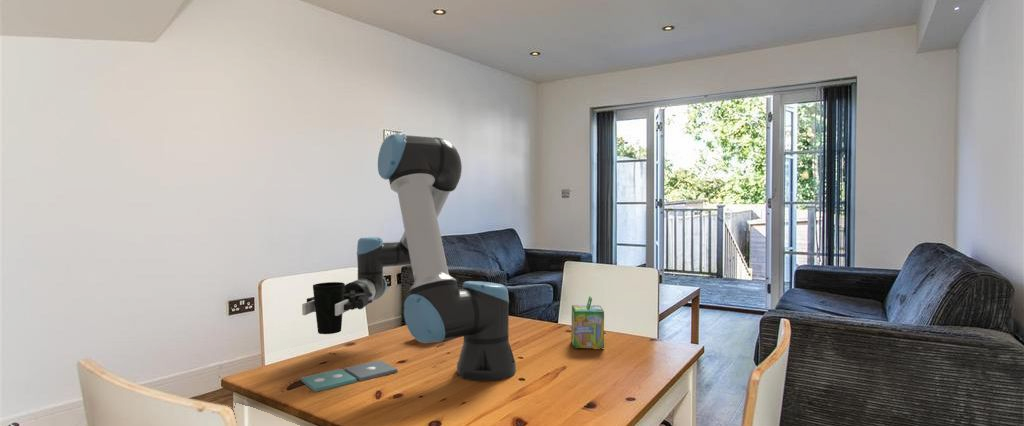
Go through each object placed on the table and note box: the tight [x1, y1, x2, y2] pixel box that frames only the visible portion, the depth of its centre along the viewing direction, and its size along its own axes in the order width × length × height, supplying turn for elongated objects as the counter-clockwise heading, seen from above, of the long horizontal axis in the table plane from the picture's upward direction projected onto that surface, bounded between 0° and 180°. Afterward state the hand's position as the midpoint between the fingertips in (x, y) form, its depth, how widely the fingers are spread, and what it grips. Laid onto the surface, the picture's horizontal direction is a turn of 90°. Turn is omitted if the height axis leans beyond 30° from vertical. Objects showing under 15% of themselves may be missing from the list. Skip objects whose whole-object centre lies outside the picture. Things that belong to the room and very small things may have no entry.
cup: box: [312, 281, 346, 335], centre depth 128 cm, size 8×8×12 cm
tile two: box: [300, 368, 358, 393], centre depth 124 cm, size 10×10×1 cm
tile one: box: [344, 359, 399, 382], centre depth 131 cm, size 10×10×1 cm
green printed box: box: [570, 296, 605, 349], centre depth 154 cm, size 9×9×15 cm
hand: (320, 309), depth 123 cm, fingers closed on cup, 8 cm apart
